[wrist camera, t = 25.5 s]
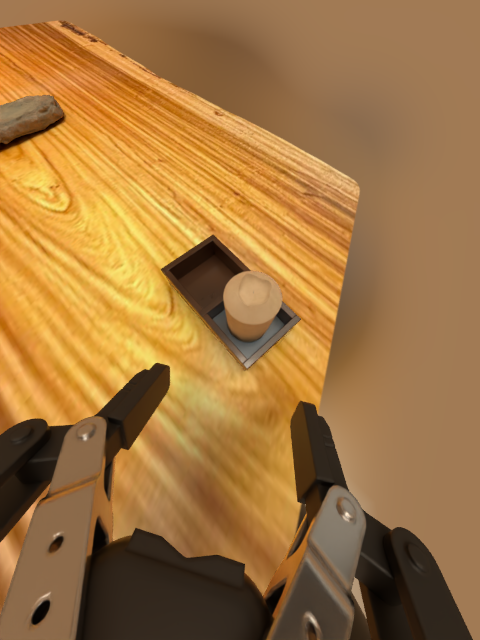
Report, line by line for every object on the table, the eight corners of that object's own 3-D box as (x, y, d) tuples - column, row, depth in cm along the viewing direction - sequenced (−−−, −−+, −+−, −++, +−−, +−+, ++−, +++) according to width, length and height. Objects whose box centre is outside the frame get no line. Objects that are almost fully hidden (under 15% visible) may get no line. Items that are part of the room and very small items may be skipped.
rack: (292, 327, 25) (301, 319, 22) (245, 370, 23) (247, 369, 20) (215, 251, 29) (213, 234, 26) (170, 282, 27) (160, 269, 24)
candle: (222, 312, 25) (213, 272, 15) (257, 299, 26) (269, 253, 16) (236, 348, 23) (235, 329, 14) (273, 334, 24) (297, 305, 15)
